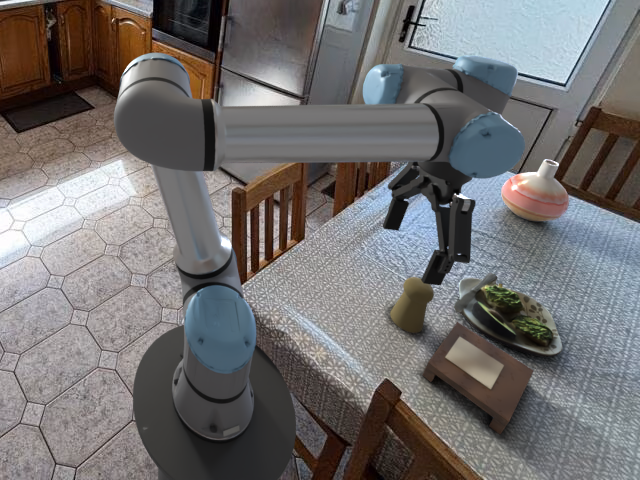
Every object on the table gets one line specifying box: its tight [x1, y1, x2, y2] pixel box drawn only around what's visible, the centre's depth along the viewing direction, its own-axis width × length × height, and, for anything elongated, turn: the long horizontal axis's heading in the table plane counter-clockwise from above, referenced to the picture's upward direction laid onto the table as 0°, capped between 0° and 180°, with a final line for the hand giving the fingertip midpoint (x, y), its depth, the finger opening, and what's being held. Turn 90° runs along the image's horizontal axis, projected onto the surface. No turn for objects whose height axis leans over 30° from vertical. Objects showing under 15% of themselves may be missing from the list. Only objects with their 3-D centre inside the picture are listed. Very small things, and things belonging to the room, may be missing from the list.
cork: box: [389, 276, 435, 334], centre depth 87 cm, size 6×6×11 cm
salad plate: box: [453, 272, 564, 359], centre depth 89 cm, size 19×18×5 cm
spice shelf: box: [421, 321, 535, 435], centre depth 77 cm, size 12×14×4 cm
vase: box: [500, 159, 570, 222], centre depth 114 cm, size 14×14×18 cm
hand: (408, 253), depth 74 cm, fingers open, 13 cm apart
